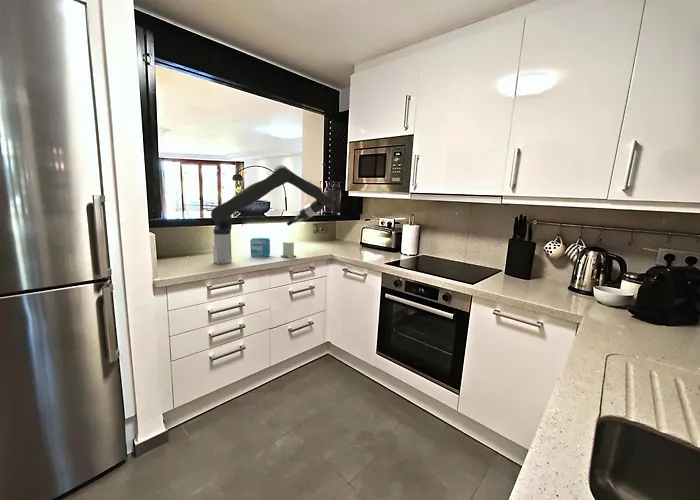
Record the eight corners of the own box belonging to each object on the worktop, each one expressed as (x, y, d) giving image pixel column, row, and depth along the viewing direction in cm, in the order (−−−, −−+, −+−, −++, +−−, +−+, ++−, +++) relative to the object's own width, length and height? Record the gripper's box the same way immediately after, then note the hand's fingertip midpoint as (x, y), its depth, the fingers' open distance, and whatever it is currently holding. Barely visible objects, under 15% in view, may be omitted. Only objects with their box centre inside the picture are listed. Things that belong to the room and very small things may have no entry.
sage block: (288, 258, 203) (288, 243, 202) (283, 256, 207) (283, 241, 206) (293, 257, 206) (293, 242, 205) (288, 256, 211) (288, 241, 209)
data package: (250, 256, 204) (250, 238, 202) (251, 255, 209) (251, 237, 207) (269, 256, 206) (269, 238, 204) (270, 255, 210) (269, 237, 208)
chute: (286, 258, 202) (286, 257, 202) (280, 256, 207) (280, 255, 207) (296, 257, 207) (296, 255, 207) (290, 255, 212) (290, 254, 212)
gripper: (310, 204, 206) (293, 216, 213) (300, 208, 193) (282, 220, 200) (316, 214, 207) (299, 225, 214) (306, 218, 194) (288, 230, 201)
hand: (291, 223), depth 207 cm, fingers open, 8 cm apart
